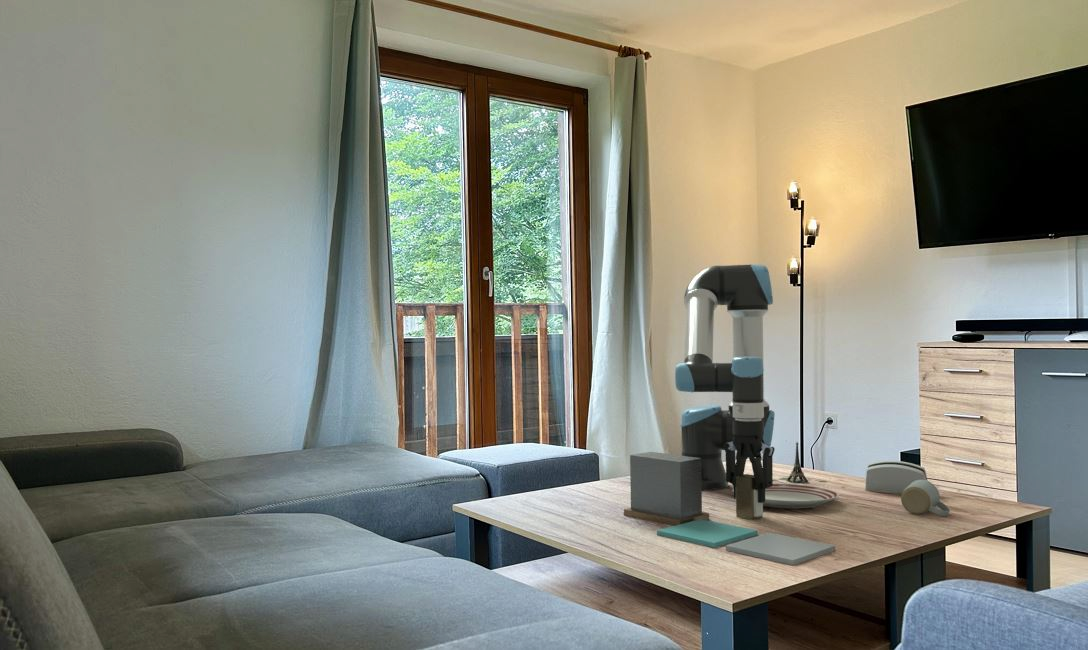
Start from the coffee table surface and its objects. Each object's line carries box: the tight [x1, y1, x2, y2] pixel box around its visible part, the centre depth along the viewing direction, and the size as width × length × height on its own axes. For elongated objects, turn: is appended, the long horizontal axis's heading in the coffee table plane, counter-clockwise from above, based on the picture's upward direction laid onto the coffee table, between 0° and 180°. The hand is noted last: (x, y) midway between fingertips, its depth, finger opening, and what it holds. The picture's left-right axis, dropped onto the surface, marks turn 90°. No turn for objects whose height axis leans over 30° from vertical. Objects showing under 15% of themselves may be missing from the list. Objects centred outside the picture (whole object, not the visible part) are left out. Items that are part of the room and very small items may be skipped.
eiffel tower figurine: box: [773, 442, 829, 484], centre depth 259 cm, size 15×10×13 cm
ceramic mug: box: [900, 479, 951, 517], centre depth 214 cm, size 11×8×8 cm
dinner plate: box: [763, 482, 840, 509], centre depth 230 cm, size 28×27×3 cm
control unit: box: [623, 451, 710, 526], centre depth 213 cm, size 18×11×15 cm, turn 42°
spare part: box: [735, 473, 764, 520], centre depth 212 cm, size 4×4×10 cm
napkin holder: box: [864, 460, 928, 495], centre depth 240 cm, size 17×5×10 cm, turn 59°
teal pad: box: [656, 519, 759, 548], centre depth 195 cm, size 16×16×1 cm
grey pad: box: [725, 532, 836, 566], centre depth 180 cm, size 16×16×1 cm
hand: (749, 513), depth 212 cm, fingers closed on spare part, 4 cm apart
